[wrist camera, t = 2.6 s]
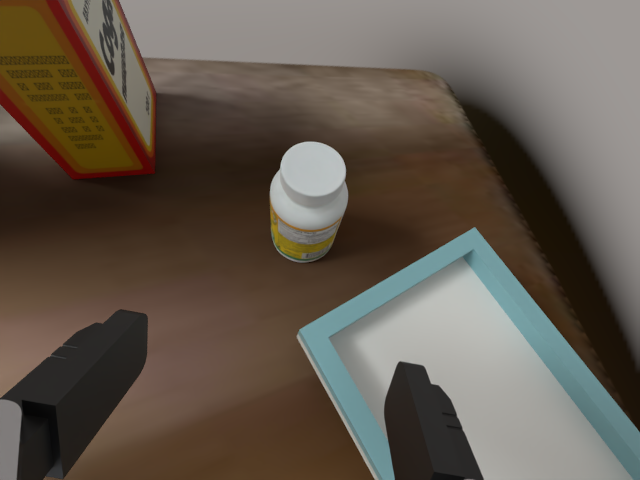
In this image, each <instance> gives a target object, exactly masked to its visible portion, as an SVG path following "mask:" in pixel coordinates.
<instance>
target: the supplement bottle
mask: <svg viewBox="0 0 640 480" xmlns="http://www.w3.org/2000/svg"><path fill="white" fill-rule="evenodd" d="M345 177H346V167H345V163H344V161H343V159H342V157H341V156H340V155H339V153H338V152H337V151H335V150H334V149H333V148H331V147H330V146H328V145H325V144H322V143H318V142H303V143H299V144H297V145H294V146H293V147H291V148H290V149H289V150H288V151H287V152H286V153H285V154H284V156H283V158H282V161H281V166H280V170H279V171H278V172H277V173H276V175H275V176H274V178H273V180H272V183H271V187H270V214H271V235H272V239H273V243H274V245H275V247H276V249H277V250H278V252H279V253H280V254H281V255H283V256H284V257H286V258H287V259H289V260H292V261H295V262H312V261H315V260H318V259H320V258H321V257H323V256H324V255H325V254H326V253H327V252H328V251H329V249H330V248H331V246H332V244H333V241H334V238H335V236H336V233H337V230H338V228H339V225H340V222H341V220H342V217H343V214H344V212H345V209H346V207H347V203H348V189H347V186H346V183H345Z"/></svg>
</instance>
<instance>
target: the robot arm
mask: <svg viewBox="0 0 640 480" xmlns="http://www.w3.org/2000/svg"><path fill="white" fill-rule="evenodd" d="M147 331H148V318H147V315H146V314H144V313H138V312H133V311H127V310H122V309H120V310H118V311H116V312H115V313H114V314H113V315H112V316H111V317H110V318H109V319H108V320H107V321H106V322H104V323H103V324H102V323H94V324H92V325H90V326H88V327H86V328H84V329H82V330H80V331H78V332H76V333H75V334H74V335H73V336H72V337H71V338H70V339H68V340H67V341H66V342H65V343H64V344H63V346H62V347H59V348H58V349H57V350H56V351H55V352H53V353H52V354H51V357H48V358H46V359H45V360H44V361H43V362H42V363H41V364H39V365H38V366H37V367H36V368H35V369H34V370H33V371H31V372H30V373H29V374H28V375H27V376H26V377H24V378H23V379H22V380H21V381H20V382H19V383H18V384H16V385H15V386H14V387H13V388H12V389H11V390H9V391H8V392H7V393H6V394H5V395H4V396H2V397H1V398H0V480H43V478H44V477H45V476H47V477H53V478H59V479H64V477H65V476H66V475H67V473H68V472H69V471H70V469H71V468H72V466H73V465H74V464H75V462H76V461H77V460H78V458H79V457H80V455H81V454H82V453H83V451H84V450H85V449H86V447H87V446H88V445H89V443H90V442H91V440H92V439H93V438H94V436H95V435H96V434H97V432H98V431H99V429H100V428H101V427H102V425H103V424H104V423H105V421H106V420H107V419H108V417H109V416H110V414H111V413H112V412H113V410H114V409H115V408H116V406H117V405H118V403H119V402H120V401H121V399H122V398H123V397H124V395H125V394H126V393H127V391H128V390H129V388H130V387H131V386H132V384H133V383H134V382H135V380H136V379H137V377H138V376H139V375H140V373H141V371H142V369H143V367H144V364H145V361H146V357H147ZM384 420H385V425H386V431H387V437H388V443H389V449H390V454H391V460H392V466H393V472H394V478H395V480H484V478H483V476H482V473H481V471H480V469H479V466H478V464H477V461H476V459H475V456H474V454H473V452H472V449H471V447H470V444H469V442H468V440H467V437H466V435H465V432H464V431H463V430H462V429H463V428H462V425H461V423H460V420H459V418H457V413H456V411H455V408H454V406H453V404H452V401H451V399H450V398H449V397H448V396H447V394H446V393H445V392H444V391H443V390H442V388H441V387H440V386H439V385H434V384H431V382H430V379H429V377H428V374H427V371H426V369H425V367H424V366H423V365H419V364H413V363H408V362H402V361H400V362H398V364H397V366H396V369H395V372H394V375H393V378H392V381H391V383H390V386H389V389H388V392H387V395H386V398H385V404H384Z"/></svg>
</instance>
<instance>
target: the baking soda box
mask: <svg viewBox="0 0 640 480" xmlns="http://www.w3.org/2000/svg"><path fill="white" fill-rule="evenodd" d="M0 104H1V106H2V107H3V108H4V109H5V110H6V111H7V112H8V113H9V114H10V115H11V116H12V117H13V118H14V119H15V120H16V121H17V122H18V123H19V124H20V125H21V126H22V127H23V128H24V129H25V130H26V131H27V132H28V133H29V134H30V136H31V137H32V138H33V139H34V140H35V141H36V142H37V143H38V144H39V145H40V146H41V147H42V148H43V149H44V150H45V151H46V152H47V153H48V154H49V155H50V156H51V157H52V158H53V159H54V160H55V161H56V162H57V163H58V164H59V166H60V167H61V168H62V169H63V170H64V171H65V172H66V173H67V174H68V175H69V176H70V177H71V178H72V179H85V178H99V177H113V176H126V175H140V174H154V173H155V145H156V91H155V88H154V86H153V83H152V81H151V78H150V76H149V73H148V71H147V68H146V66H145V63H144V61H143V59H142V56H141V54H140V51H139V49H138V46H137V44H136V41H135V39H134V37H133V34H132V31H131V29H130V26H129V24H128V22H127V19H126V17H125V14H124V12H123V9H122V7H121V4H120V2H119V0H0Z"/></svg>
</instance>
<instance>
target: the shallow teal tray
mask: <svg viewBox="0 0 640 480" xmlns="http://www.w3.org/2000/svg"><path fill="white" fill-rule="evenodd" d="M297 339H298V341H299V342H300V344H301V346H302V348H303V350H304V351H305V353H306V355H307V357H308V359H309V361H310V362H311V364H312V366H313V368H314V370H315V371H316V373H317V375H318V377H319V379H320V381H321V382H322V384H323V386H324V388H325V390H326V392H327V393H328V395H329V397H330V399H331V401H332V402H333V404H334V406H335V408H336V410H337V412H338V413H339V415H340V417H341V419H342V421H343V422H344V424H345V426H346V428H347V430H348V432H349V433H350V435H351V437H352V439H353V441H354V443H355V444H356V446H357V448H358V450H359V452H360V453H361V455H362V457H363V459H364V461H365V463H366V464H367V466H368V468H369V470H370V472H371V473H372V475H373V477H374V479H375V480H395V478H394V472H393V466H392V460H391V454H390V449H389V443H388V437H387V431H386V425H385V420H384V404H385V398H386V395H387V392H388V389H389V386H390V383H391V381H392V378H393V375H394V372H395V369H396V366H397V364H398V362H400V361H402V362H408V363H413V364H419V365H423V366H424V367H425V369H426V371H427V374H428V377H429V379H430V382H431V384H434V385H439V386H440V387H441V388H442V390H443V391H444V392H445V393H446V394H447V396H448V397H449V398H450V399H451V401H452V404H453V406H454V408H455V411H456V413H457V418H459V420H460V423H461V425H462V428H463V429H462V430H463V431H464V432H465V435H466V437H467V440H468V442H469V444H470V447H471V449H472V452H473V454H474V456H475V459H476V461H477V464H478V466H479V469H480V471H481V473H482V476H483V478H484V480H640V432H639V431H638V429H637V428H636V427H635V426H634V425H633V423H632V422H631V421H630V420H629V418H628V417H627V416H626V415H625V413H624V412H623V411H622V410H621V408H620V407H619V406H618V405H617V403H616V402H615V401H614V400H613V398H612V397H611V396H610V395H609V393H608V392H607V391H606V390H605V388H604V387H603V386H602V385H601V383H600V382H599V381H598V380H597V378H596V377H595V376H594V375H593V374H592V372H591V371H590V370H589V369H588V367H587V366H586V365H585V364H584V362H583V361H582V360H581V359H580V357H579V356H578V355H577V354H576V352H575V351H574V350H573V349H572V347H571V346H570V345H569V344H568V342H567V341H566V340H565V339H564V337H563V336H562V335H561V334H560V332H559V331H558V330H557V329H556V327H555V326H554V325H553V324H552V323H551V321H550V320H549V319H548V318H547V316H546V315H545V314H544V313H543V311H542V310H541V309H540V308H539V306H538V305H537V304H536V303H535V301H534V300H533V299H532V298H531V296H530V295H529V294H528V293H527V291H526V290H525V289H524V288H523V286H522V285H521V284H520V283H519V281H518V280H517V279H516V278H515V276H514V275H513V274H512V273H511V272H510V270H509V269H508V268H507V267H506V265H505V264H504V263H503V262H502V260H501V259H500V258H499V257H498V255H497V254H496V253H495V252H494V250H493V249H492V248H491V247H490V245H489V244H488V243H487V242H486V240H485V239H484V238H483V237H482V235H481V234H480V233H479V232H478V230H477V229H476V228H475V227H474V228H473V229H471V230H469V231H468V232H466V233H464V234H462V235H461V236H459V237H457V238H456V239H454V240H452V241H450V242H449V243H447V244H445V245H444V246H442V247H440V248H438V249H437V250H435V251H433V252H432V253H430V254H428V255H426V256H425V257H423V258H421V259H420V260H418V261H416V262H414V263H413V264H411V265H409V266H408V267H406V268H404V269H402V270H401V271H399V272H397V273H396V274H394V275H392V276H390V277H389V278H387V279H385V280H384V281H382V282H380V283H378V284H377V285H375V286H373V287H372V288H370V289H368V290H366V291H365V292H363V293H361V294H360V295H358V296H356V297H354V298H353V299H351V300H349V301H348V302H346V303H344V304H342V305H341V306H339V307H337V308H336V309H334V310H332V311H330V312H329V313H327V314H325V315H324V316H322V317H320V318H318V319H317V320H315V321H313V322H312V323H310V324H308V325H306V326H305V327H303V328H301V329H300V330H299V332H298V335H297Z"/></svg>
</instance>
